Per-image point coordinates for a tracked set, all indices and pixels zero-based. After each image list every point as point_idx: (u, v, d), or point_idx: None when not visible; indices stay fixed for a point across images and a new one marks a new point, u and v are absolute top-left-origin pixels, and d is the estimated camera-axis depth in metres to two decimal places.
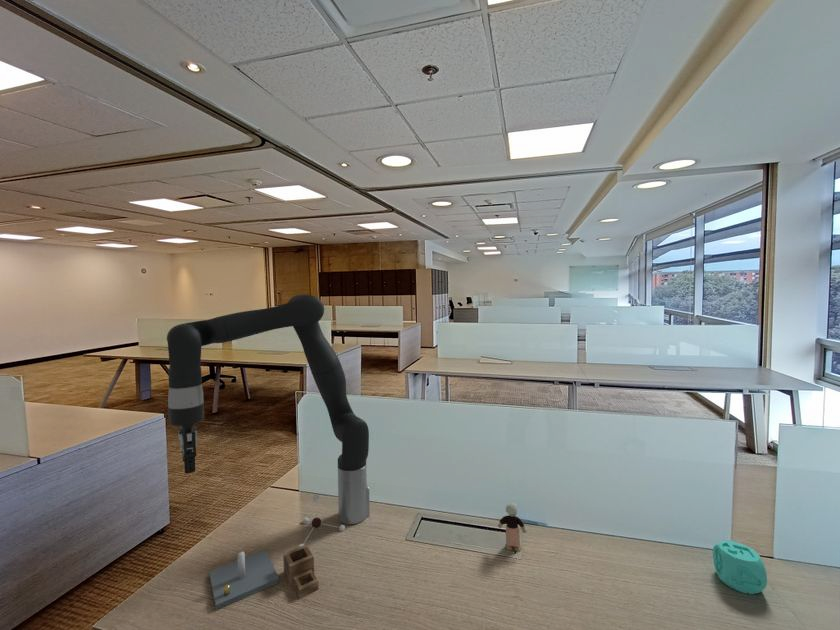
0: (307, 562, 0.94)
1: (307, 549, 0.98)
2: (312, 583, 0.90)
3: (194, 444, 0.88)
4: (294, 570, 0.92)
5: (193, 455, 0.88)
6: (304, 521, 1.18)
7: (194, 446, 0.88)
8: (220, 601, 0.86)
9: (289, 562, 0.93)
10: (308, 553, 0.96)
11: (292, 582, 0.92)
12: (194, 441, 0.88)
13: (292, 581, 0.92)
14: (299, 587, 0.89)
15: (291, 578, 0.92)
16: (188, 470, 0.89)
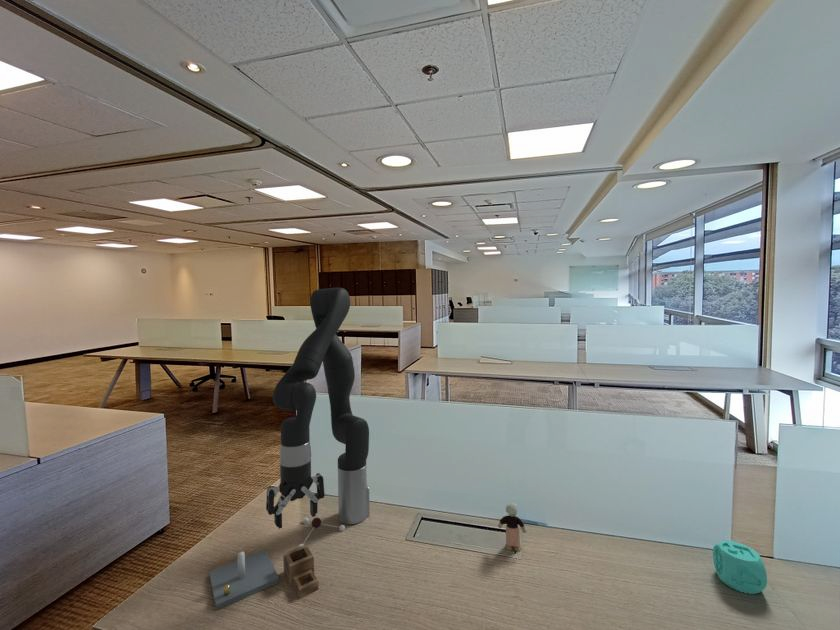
0: (307, 562, 0.94)
1: (307, 549, 0.98)
2: (312, 583, 0.90)
3: None
4: (294, 570, 0.92)
5: None
6: (304, 521, 1.18)
7: None
8: (220, 601, 0.86)
9: (289, 562, 0.93)
10: (308, 553, 0.96)
11: (292, 582, 0.92)
12: None
13: (292, 581, 0.92)
14: (299, 587, 0.89)
15: (291, 578, 0.92)
16: None
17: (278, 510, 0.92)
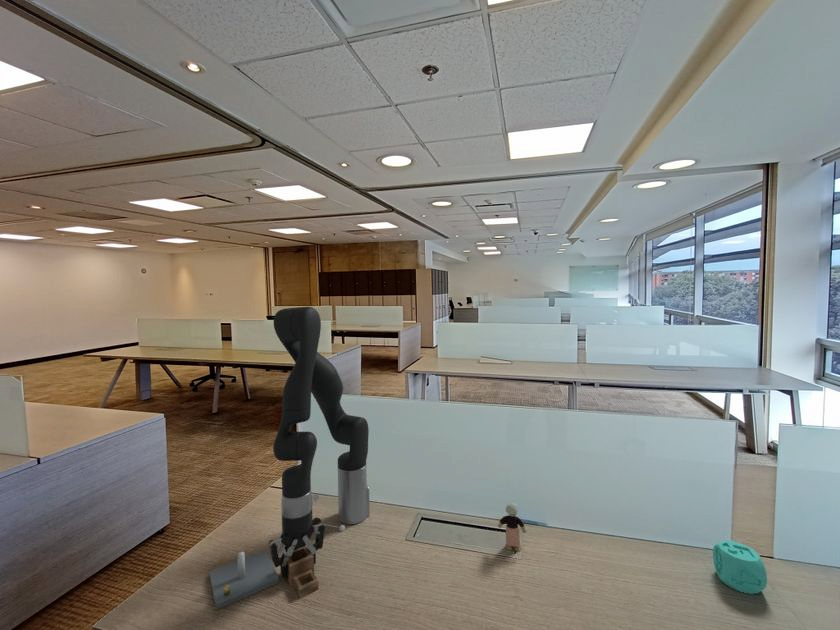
0: (307, 562, 0.94)
1: (307, 549, 0.98)
2: (312, 583, 0.90)
3: None
4: (294, 570, 0.92)
5: None
6: None
7: None
8: (220, 601, 0.86)
9: (289, 562, 0.93)
10: (308, 553, 0.96)
11: (292, 582, 0.92)
12: None
13: (292, 581, 0.92)
14: (299, 587, 0.89)
15: (291, 578, 0.92)
16: None
17: (284, 562, 0.93)
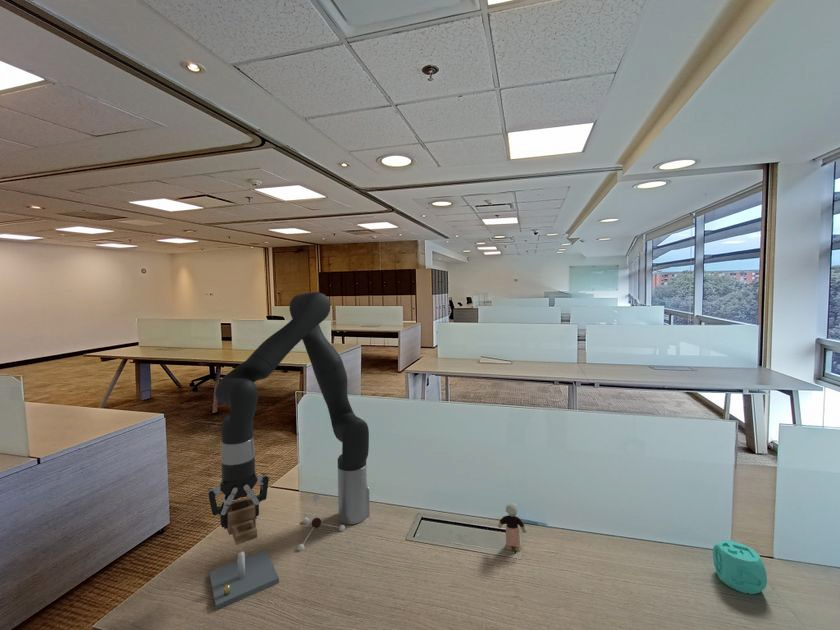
0: (248, 512, 0.91)
1: (250, 500, 0.95)
2: (250, 531, 0.87)
3: None
4: (233, 519, 0.89)
5: None
6: (304, 521, 1.18)
7: None
8: (220, 601, 0.86)
9: (228, 511, 0.90)
10: (250, 504, 0.93)
11: (231, 531, 0.89)
12: None
13: (231, 530, 0.89)
14: (236, 534, 0.86)
15: (230, 527, 0.89)
16: None
17: (223, 510, 0.90)
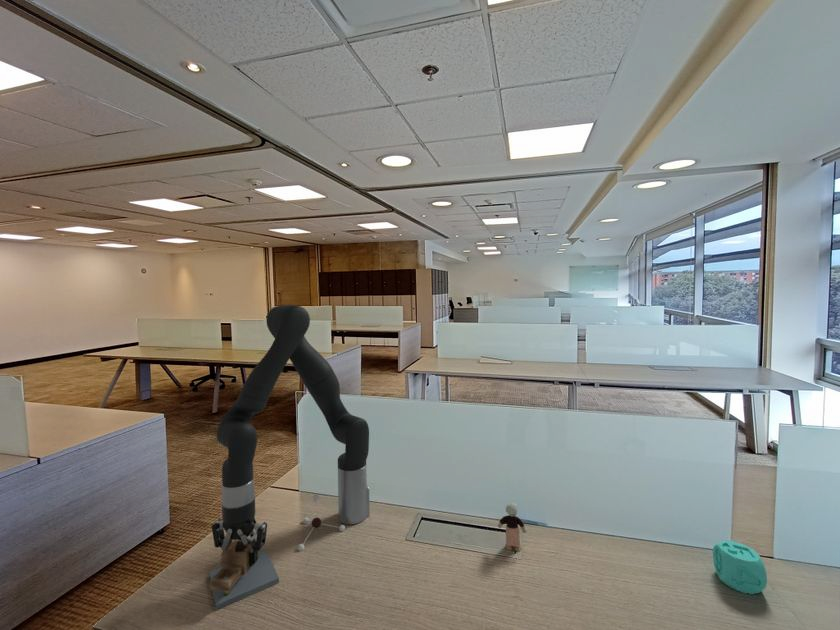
0: (237, 558, 0.90)
1: None
2: (223, 581, 0.86)
3: (265, 534, 0.94)
4: (225, 559, 0.91)
5: (263, 544, 0.93)
6: (304, 521, 1.18)
7: (265, 535, 0.94)
8: (220, 601, 0.86)
9: (226, 549, 0.93)
10: (246, 549, 0.92)
11: None
12: (266, 531, 0.94)
13: None
14: (213, 578, 0.87)
15: (222, 565, 0.91)
16: (255, 561, 0.93)
17: (222, 546, 0.93)
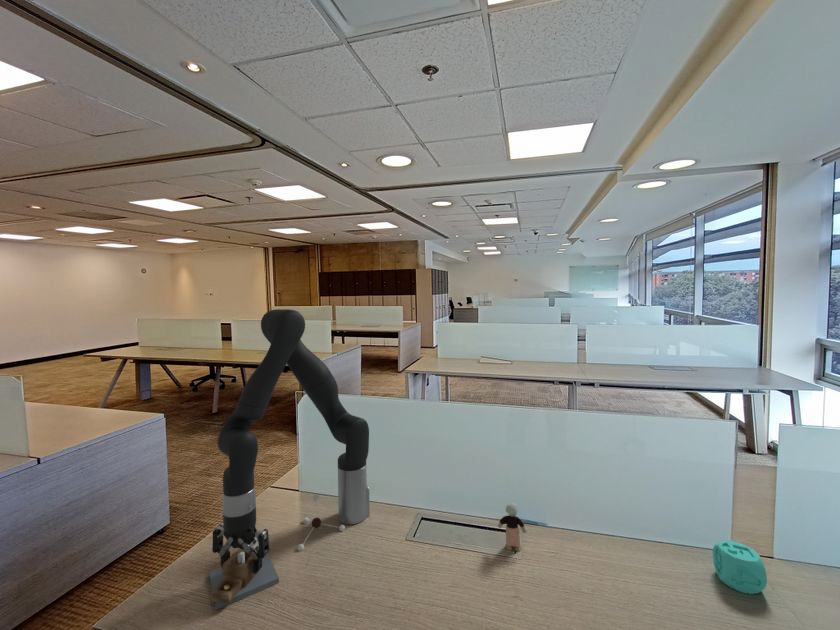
0: (238, 569, 0.90)
1: None
2: (223, 594, 0.86)
3: (268, 540, 0.93)
4: (226, 570, 0.91)
5: (268, 551, 0.93)
6: (304, 521, 1.18)
7: (268, 542, 0.93)
8: None
9: (228, 560, 0.92)
10: (247, 561, 0.92)
11: None
12: (268, 537, 0.93)
13: None
14: (214, 590, 0.87)
15: (224, 577, 0.91)
16: (259, 569, 0.92)
17: (220, 552, 0.93)
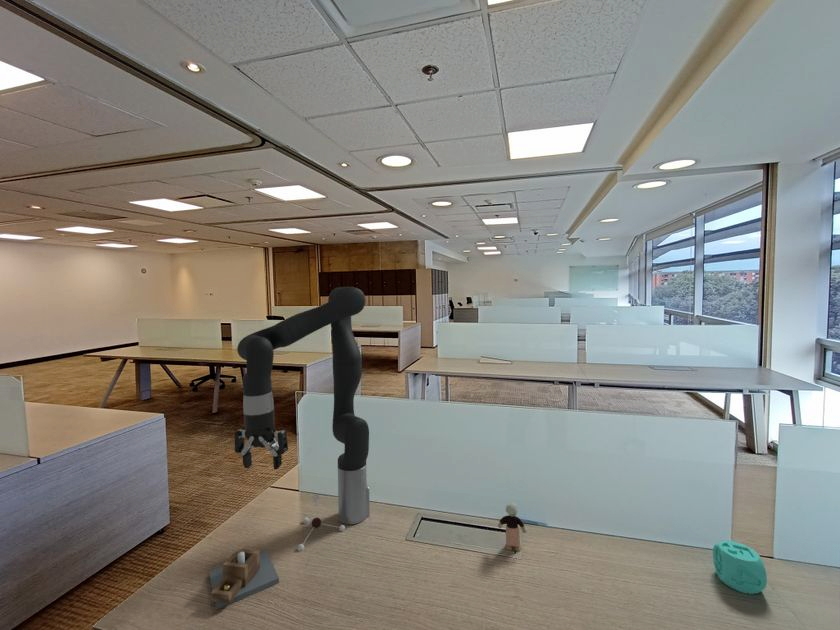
0: (238, 569, 0.90)
1: (252, 556, 0.94)
2: (223, 594, 0.86)
3: (286, 439, 1.00)
4: (226, 570, 0.91)
5: (286, 449, 1.00)
6: (304, 521, 1.18)
7: (286, 441, 1.00)
8: None
9: (228, 560, 0.92)
10: (247, 561, 0.92)
11: None
12: (286, 437, 1.00)
13: None
14: (214, 590, 0.87)
15: (224, 577, 0.91)
16: (279, 465, 0.99)
17: (242, 451, 1.00)
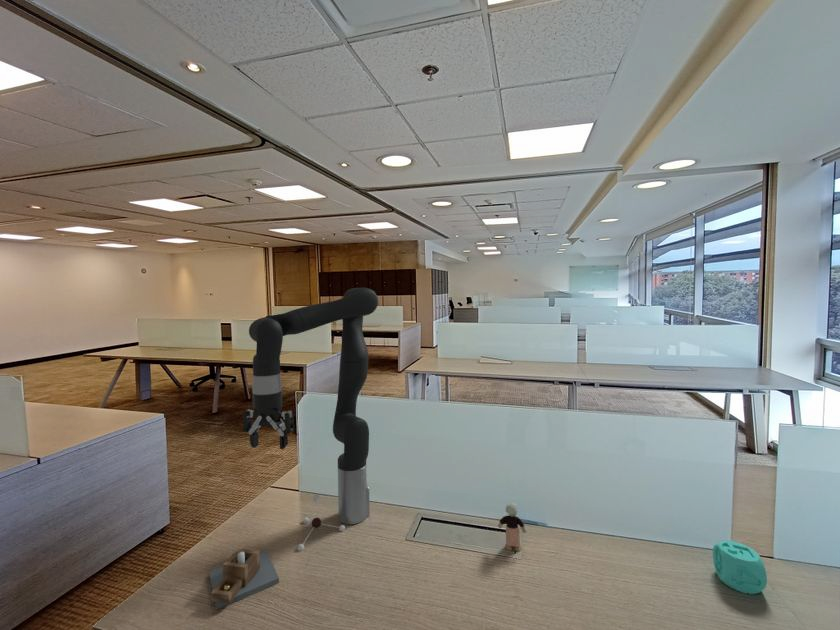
0: (238, 569, 0.90)
1: (252, 556, 0.94)
2: (223, 594, 0.86)
3: (293, 420, 1.03)
4: (226, 570, 0.91)
5: (293, 430, 1.03)
6: (304, 521, 1.18)
7: (293, 422, 1.03)
8: None
9: (228, 560, 0.92)
10: (247, 561, 0.92)
11: None
12: None
13: None
14: (214, 590, 0.87)
15: (224, 577, 0.91)
16: (285, 445, 1.02)
17: (250, 430, 1.03)
